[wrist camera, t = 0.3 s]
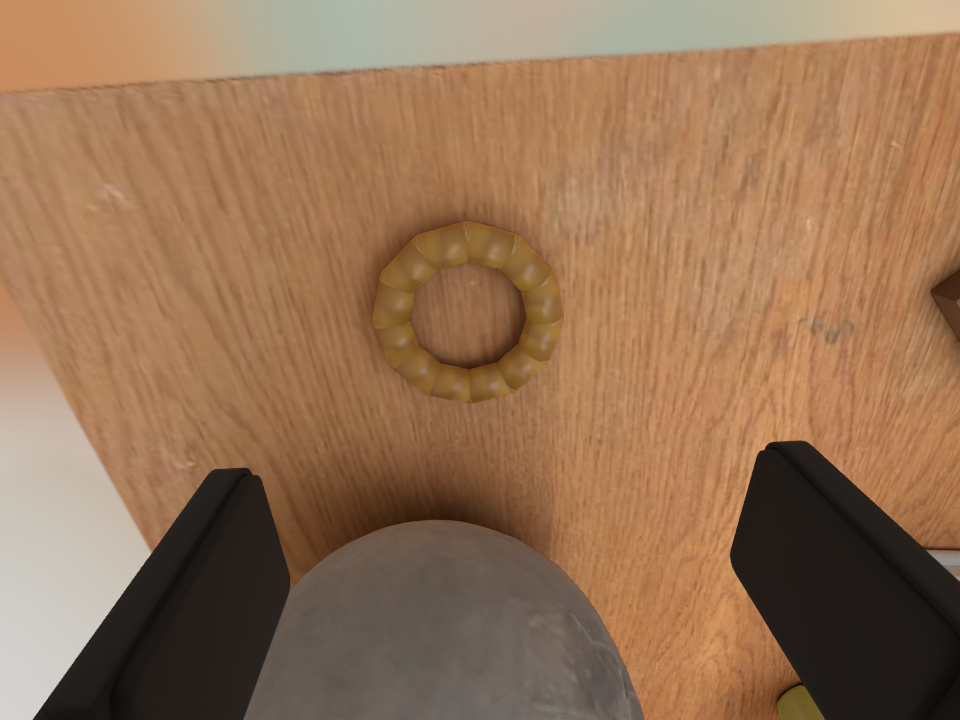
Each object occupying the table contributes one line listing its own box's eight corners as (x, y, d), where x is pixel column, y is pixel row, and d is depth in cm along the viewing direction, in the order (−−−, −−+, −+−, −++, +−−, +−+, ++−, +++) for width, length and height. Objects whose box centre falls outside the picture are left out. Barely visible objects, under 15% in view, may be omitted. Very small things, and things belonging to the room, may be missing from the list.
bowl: (312, 671, 37) (228, 982, 24) (260, 457, 28) (77, 764, 15) (575, 661, 38) (640, 957, 24) (608, 450, 29) (738, 736, 15)
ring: (466, 177, 22) (466, 181, 20) (594, 310, 25) (603, 323, 23) (340, 314, 24) (331, 328, 23) (470, 419, 27) (470, 438, 26)
